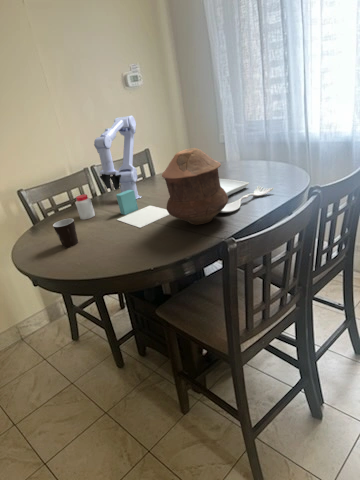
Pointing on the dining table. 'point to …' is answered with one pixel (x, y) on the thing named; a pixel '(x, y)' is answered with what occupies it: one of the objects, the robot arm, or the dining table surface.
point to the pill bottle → (84, 207)
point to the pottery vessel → (194, 187)
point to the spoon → (236, 204)
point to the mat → (144, 216)
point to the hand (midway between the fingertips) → (112, 188)
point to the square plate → (232, 185)
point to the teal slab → (127, 202)
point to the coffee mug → (66, 232)
